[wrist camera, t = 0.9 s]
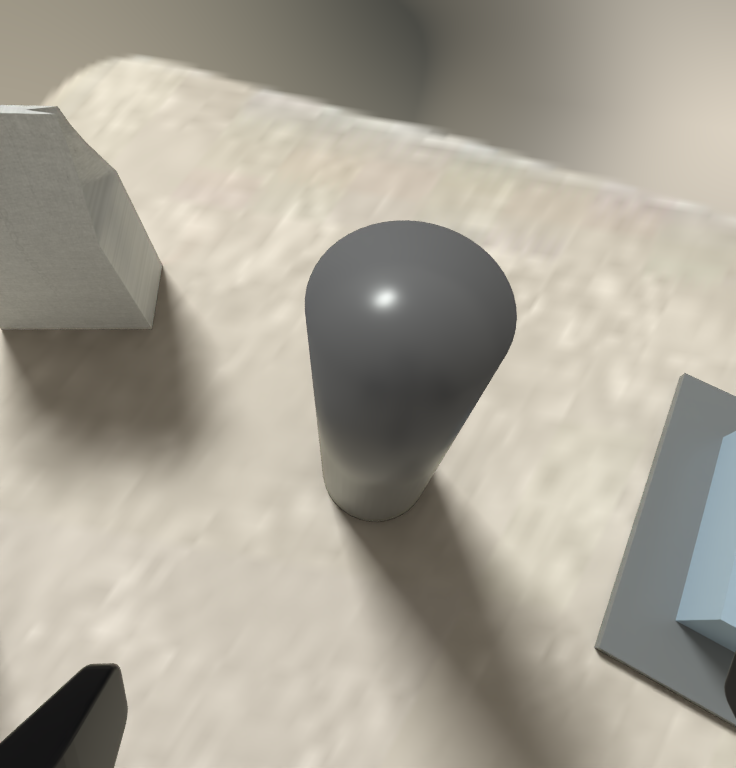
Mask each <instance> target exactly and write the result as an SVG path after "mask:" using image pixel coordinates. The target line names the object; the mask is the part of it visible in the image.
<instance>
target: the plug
mask: <svg viewBox="0 0 736 768" xmlns="http://www.w3.org/2000/svg"><path fill="white" fill-rule="evenodd" d="M305 315H306V324H307V333H308V342H309V352H310V361H311V370H312V379H313V388H314V397H315V406H316V416H317V425H318V434H319V443H320V452H321V461H322V471H323V478H324V483H325V486H326V489H327V491H328V493H329V495H330V496H331V498H332V500H333V501H334V502H335V503H336V504H337V505H338V506H339V507H340V508H341V509H342V510H343V511H345V512H346V513H348V514H349V515H351V516H353V517H356V518H358V519H362V520H366V521H385V520H390V519H393V518H396V517H398V516H400V515H402V514H403V513H405V512H406V511H408V510H409V509H410V508H411V507H412V506H413V505H414V504H415V503H416V502H417V500H418V499H419V497H420V495H421V494H422V492H423V491H424V489H425V487H426V486H427V484H428V482H429V481H430V479H431V477H432V476H433V474H434V472H435V471H436V469H437V467H438V466H439V464H440V463H441V461H442V459H443V458H444V456H445V454H446V453H447V451H448V449H449V448H450V446H451V444H452V443H453V441H454V440H455V438H456V436H457V435H458V433H459V431H460V430H461V428H462V426H463V425H464V423H465V421H466V420H467V418H468V417H469V415H470V413H471V412H472V410H473V408H474V407H475V405H476V403H477V402H478V400H479V398H480V397H481V395H482V394H483V392H484V390H485V389H486V387H487V385H488V384H489V382H490V380H491V379H492V377H493V375H494V374H495V372H496V371H497V369H498V367H499V366H500V364H501V362H502V361H503V359H504V357H505V356H506V354H507V352H508V350H509V348H510V346H511V343H512V341H513V337H514V334H515V330H516V320H517V315H516V304H515V299H514V294H513V292H512V289H511V286H510V284H509V282H508V280H507V278H506V276H505V274H504V272H503V271H502V270H501V268H500V267H499V265H498V264H497V263H496V262H495V260H494V259H493V258H492V257H491V256H490V255H489V254H488V253H487V252H486V251H485V250H483V249H482V248H481V247H480V246H479V245H477V244H476V243H474V242H473V241H472V240H470V239H468V238H467V237H465V236H463V235H461V234H459V233H457V232H455V231H453V230H450V229H448V228H445V227H442V226H438V225H435V224H431V223H425V222H419V221H389V222H382V223H377V224H373V225H370V226H367V227H364V228H361V229H358V230H356V231H354V232H352V233H350V234H348V235H347V236H345V237H343V238H342V239H340V240H339V241H338V242H336V243H335V244H334V245H333V246H331V247H330V248H329V249H328V250H327V251H326V253H325V254H324V255H323V256H322V257H321V258H320V260H319V261H318V263H317V264H316V266H315V268H314V270H313V272H312V274H311V276H310V279H309V282H308V285H307V289H306V295H305Z"/></svg>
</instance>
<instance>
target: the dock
mask: <svg viewBox="0 0 736 768" xmlns="http://www.w3.org/2000/svg"><path fill="white" fill-rule="evenodd" d="M595 648H597V649H598V650H600V651H602V652H604V653H605V654H607V655H609V656H611V657H613V658H614V659H616V660H618V661H620V662H621V663H623V664H625V665H627V666H628V667H630V668H632V669H634V670H636V671H637V672H639V673H641V674H643V675H644V676H646V677H648V678H650V679H651V680H653V681H655V682H657V683H659V684H660V685H662V686H664V687H666V688H667V689H669V690H671V691H673V692H675V693H676V694H678V695H680V696H682V697H683V698H685V699H687V700H689V701H690V702H692V703H694V704H696V705H698V706H699V707H701V708H703V709H705V710H706V711H708V712H710V713H712V714H713V715H715V716H717V717H719V718H721V719H722V720H724V721H726V722H728V723H729V724H731V725H733V726H735V727H736V718H735V716H734V714H733V712H732V711H731V709H730V707H729V705H728V702H727V699H726V696H725V691H724V684H725V680H726V677H727V674H728V671H729V668H730V665H731V662H732V660H733V657H734V654H735V651H736V396H733V395H731V394H729V393H727V392H725V391H723V390H720V389H718V388H716V387H714V386H712V385H710V384H707V383H705V382H703V381H701V380H699V379H697V378H694V377H692V376H690V375H688V374H686V373H685V374H683V375H682V376H680V378H679V381H678V385H677V388H676V391H675V394H674V397H673V400H672V404H671V407H670V410H669V413H668V416H667V419H666V423H665V426H664V429H663V432H662V435H661V438H660V442H659V445H658V448H657V451H656V454H655V457H654V461H653V464H652V467H651V470H650V473H649V476H648V480H647V483H646V486H645V489H644V492H643V495H642V499H641V502H640V505H639V508H638V511H637V514H636V518H635V521H634V524H633V527H632V530H631V533H630V537H629V540H628V543H627V546H626V549H625V552H624V556H623V559H622V562H621V565H620V568H619V571H618V575H617V578H616V581H615V584H614V587H613V590H612V593H611V597H610V600H609V603H608V606H607V609H606V612H605V616H604V619H603V622H602V625H601V628H600V631H599V635H598V638H597V641H596V644H595Z"/></svg>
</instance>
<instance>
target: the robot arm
mask: <svg viewBox="0 0 736 768" xmlns="http://www.w3.org/2000/svg"><path fill="white" fill-rule="evenodd" d="M724 691H725V696H726V699H727V702H728V705H729V707H730V709H731V711H732V712H733V714H734V716H735V718H736V651H735V654H734V657H733V660H732V662H731V665H730V668H729V671H728V674H727V677H726V680H725V684H724ZM127 713H128V706H127V700H126V694H125V689H124V684H123V679H122V674H121V670H120V667H119V666H118V665H117V664H114V663H108V664H90V665H87V666H86V667H84V668H82V669H81V670H80V671H79V672H78V673H77V674H76V675H74V676H73V677H72V678H71V679H70V680H69V681H68V682H67V683H66V684H65V685H63V686H62V687H61V688H60V689H59V690H58V691H57V692H56V693H55V694H54V695H52V696H51V697H50V698H49V699H48V700H47V701H46V702H45V703H44V704H43V705H42V706H40V707H39V708H38V709H37V710H36V711H35V712H34V713H33V714H32V715H31V716H29V717H28V718H27V719H26V720H25V721H24V722H23V723H22V724H21V725H20V726H18V727H17V728H16V729H15V730H14V731H13V732H12V733H11V734H10V735H9V736H7V737H6V738H5V739H4V740H3V741H2V742H1V743H0V768H114V766H115V762H116V758H117V755H118V751H119V747H120V744H121V740H122V736H123V733H124V729H125V725H126V720H127Z"/></svg>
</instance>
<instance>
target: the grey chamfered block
mask: <svg viewBox="0 0 736 768" xmlns="http://www.w3.org/2000/svg"><path fill="white" fill-rule="evenodd" d="M161 270H162V263H161V261H160V259H159V257H158V255H157V253H156V251H155V249H154V247H153V245H152V243H151V241H150V239H149V237H148V235H147V233H146V231H145V229H144V226H143V224H142V222H141V220H140V218H139V216H138V214H137V212H136V210H135V208H134V206H133V204H132V202H131V200H130V198H129V196H128V194H127V192H126V190H125V188H124V186H123V184H122V181H121V179H120V177H119V175H118V173H117V171H116V170H115V169H114V168H112V167H111V166H110V165H109V164H108V163H107V162H106V161H105V160H104V159H103V158H102V157H101V156H100V155H99V154H98V153H97V152H96V151H95V150H94V149H92V148H91V147H90V146H89V145H88V144H87V143H86V142H85V141H84V140H83V138H82V137H81V136H80V135H79V134H78V133H77V132H76V130H75V129H74V128H73V127H72V126H71V125H70V123H69V122H68V121H67V119H66V118H65V116H64V115H63V113H62V112H61V111H60V109H59V108H58V106H18V105H14V106H13V105H0V328H1V329H2V330H6V329H152V326H153V320H154V314H155V307H156V301H157V295H158V289H159V283H160V277H161Z"/></svg>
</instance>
